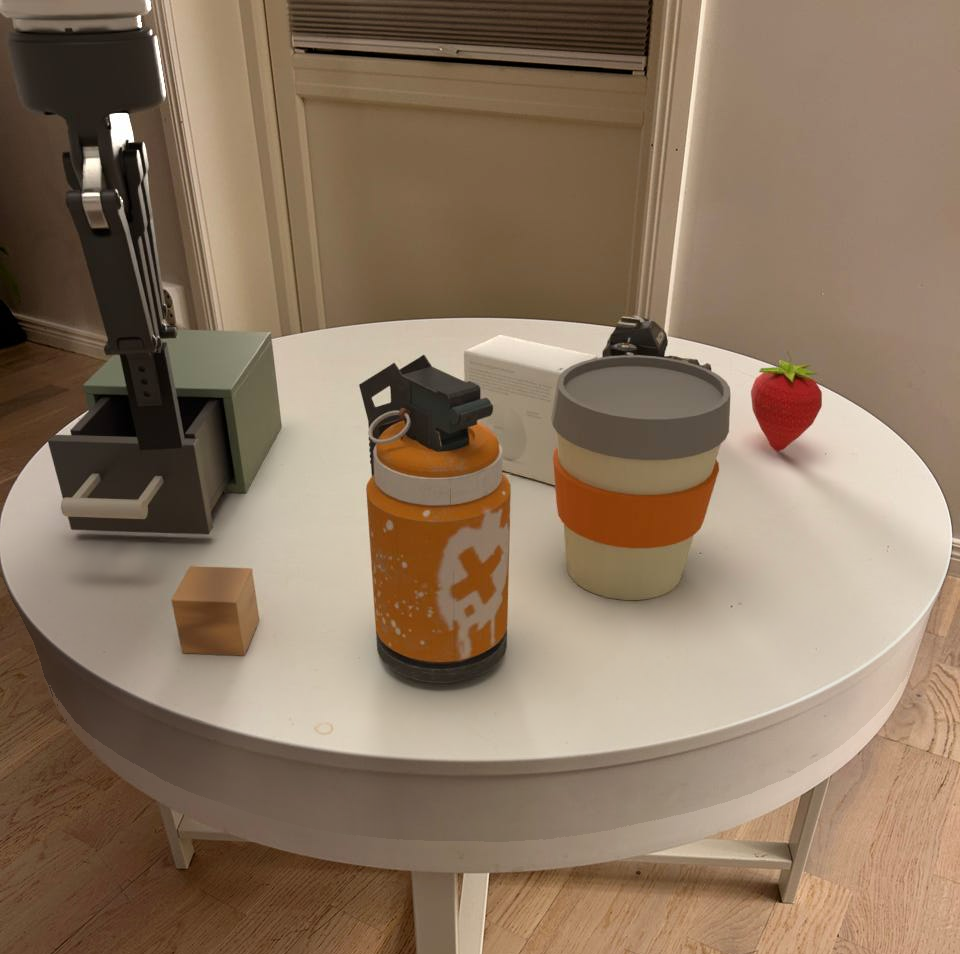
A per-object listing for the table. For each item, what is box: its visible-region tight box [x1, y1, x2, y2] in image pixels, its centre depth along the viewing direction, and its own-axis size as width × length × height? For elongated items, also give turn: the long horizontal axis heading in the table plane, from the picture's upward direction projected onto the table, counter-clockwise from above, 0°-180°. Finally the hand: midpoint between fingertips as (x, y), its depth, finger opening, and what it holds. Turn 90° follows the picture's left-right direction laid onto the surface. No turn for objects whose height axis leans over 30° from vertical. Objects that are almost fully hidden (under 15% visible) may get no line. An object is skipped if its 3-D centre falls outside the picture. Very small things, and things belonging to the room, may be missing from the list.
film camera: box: [601, 315, 712, 371], centre depth 99 cm, size 18×12×10 cm
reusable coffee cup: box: [551, 355, 731, 601], centre depth 74 cm, size 13×13×15 cm
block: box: [170, 565, 261, 656], centre depth 69 cm, size 4×4×4 cm
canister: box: [358, 354, 512, 684], centre depth 64 cm, size 9×11×20 cm
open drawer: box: [47, 394, 234, 535], centre depth 81 cm, size 19×11×8 cm, turn 177°
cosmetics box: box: [463, 334, 598, 486], centre depth 91 cm, size 10×6×10 cm, turn 57°
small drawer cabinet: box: [82, 328, 283, 494], centre depth 92 cm, size 15×13×10 cm
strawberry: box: [750, 348, 823, 452], centre depth 93 cm, size 6×8×10 cm
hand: (162, 444), depth 65 cm, fingers closed
